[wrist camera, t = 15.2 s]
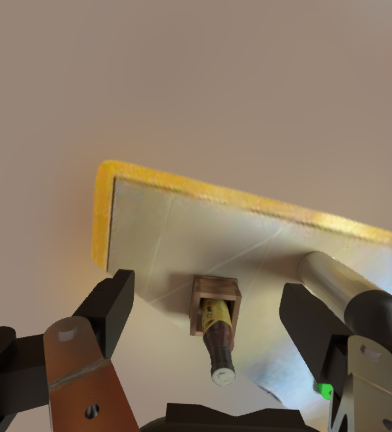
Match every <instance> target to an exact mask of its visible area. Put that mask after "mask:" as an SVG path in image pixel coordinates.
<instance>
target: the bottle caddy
mask: <svg viewBox="0 0 392 432" xmlns="http://www.w3.org/2000/svg"><path fill="white" fill-rule="evenodd" d="M237 282H238V281H237V279H231V278H221V277H210V276H200V275H194V281H193V289H192V297H191V306H190V314H189V318H190V335H192V336H203V327H202V299H203V298H214V299H225V300H226V303H227V307H228V312H229V316H230V321H231V325H232V330H233V337H234V336H235V331H236V325H237V319H238V314H239V308H240V303H241V297H242V296H241V293H240V291H239V288H238V285H237Z"/></svg>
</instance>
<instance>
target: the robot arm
mask: <svg viewBox="0 0 392 432" xmlns="http://www.w3.org/2000/svg"><path fill="white" fill-rule="evenodd" d="M298 275H299V277H300V279H301V280H302V281H303V282H304V283H305V284H306V285H307V286H308V288H309V289H310V290H311V291H312V292H313V293H314V294H315V295H316V296H317V297H318V298H317V297H316V296H314V295H313V294H311V293H310V292H309V291H308V290H307V289H306V288H305V287H304V286H303V285H302V284H297V283H286V284H285V285H284V289H283V294H282V298H281V303H280V308H279V315H280V319H281V322H282V323H283V325H284V327H285V328H286V330H287V332H288V334H289V335H290V337H291V339H292V340H293V342H294V344H295V346H296V347H297V349H298V351H299V352H300V354H301V356H302V358H303V359H304V361H305V363H306V364H307V366H308V368H309V370H310V371H311V373H312V375H313V376H314V378H315V380H316V382H317V383H318V384H331V386H332V387H333V389H332V392H331V397H330V409H329V421H328V432H392V295H391V294H389V293H387V292H386V291H384V290H383V289H381V288H380V287H378V286H376V285H375V284H373V283H372V282H370V281H368V280H367V279H365V278H364V277H363V276H362V275H360V274H358V273H357V272H355V271H354V270H352V269H351V268H349V267H347V266H346V265H344V264H343V263H341V262H340V261H338V260H336V259H334V258H333V257H331V256H329V255H328V254H326V253H324V252H312V253H309V254H307V255H306V256H305V257H303V259H302V260H301V261H300V263H299V265H298ZM134 280H135V272H134V270H124V269H119V270H118V271H117V273H116V274H115V275H114V277H113V278H106V279H104V280H103V281H101V282H100V283H98V284H97V286H96V287H95V288H94V289H93V291H92V292H91V293H90V294H89V295H88V297H87V298H86V299H85V300H84V301H83V303H82V304H81V305H80V306H79V308H78V309H77V310H76V311H75V313H74V314H73V315H72V316H71V317H67V318H64V319H61V320H59V321H57V322H55V323H54V324H52V325H51V326H50V327H49V328H48V329H47V330H46V332H45V333H44V334H40V335H34V336H28V337H23V338H16V332H15V330H14V329H13V328H11V327H6V326H1V327H0V432H5V431H6V430H7V428H8V427H9V425H10V423H11V422H12V420H13V419H14V417H15V416H16V414H17V413H18V412H22V411H25V410H29V409H33V408H36V407H40V406H44V405H47V404H48V405H49V415H50V426H51V432H320V431H318V430H316V429H314V428H312V427H310V426H307V425H305V423H304V420H303V418H302V416H301V414H300V411H299V410H290V409H271V408H266V409H263V410H259V411H256V412H253V413H249V414H245V415H241V416H231V415H228V414H225V413H222V412H220V411H217V410H214V409H211V408H208V407H205V406H202V405H197V404H178V403H167V409H166V416H165V417H161V418H158V419H156V420H154V421H151V422H149V423H148V424H146V425H144V426H143V427H141V428H140V429H139V427H138V425H137V422H136V420H135V417H134V415H133V412H132V410H131V407H130V405H129V403H128V400H127V398H126V396H125V393H124V391H123V388H122V386H121V384H120V381H119V378H118V376H117V374H116V371H115V369H114V366H113V364H112V362H111V360H110V359H111V356H112V354H113V352H114V350H115V347H116V345H117V342H118V340H119V338H120V335H121V333H122V330H123V328H124V326H125V323H126V321H127V319H128V316H129V314H130V312H131V309H132V306H133V301H134ZM335 315H336V316H335Z"/></svg>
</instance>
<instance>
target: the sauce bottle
mask: <svg viewBox="0 0 392 432" xmlns="http://www.w3.org/2000/svg"><path fill="white" fill-rule="evenodd" d="M202 327H203V341H204V343H205V345H206V347H207V350H208V351H209V354H210V358H211V365H212V368H211V377H212V381H213V382H214V383H215V384H216V385H218V386H228V385H230V384H232V383H233V382H234V381H235V377H236V376H235V370H234V366H233V364H232V359H231V351H232V350H233V347H234V337H233V330H232V325H231V321H230V316H229V312H228V307H227V303H226V300H225V299H214V298H203V299H202Z"/></svg>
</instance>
